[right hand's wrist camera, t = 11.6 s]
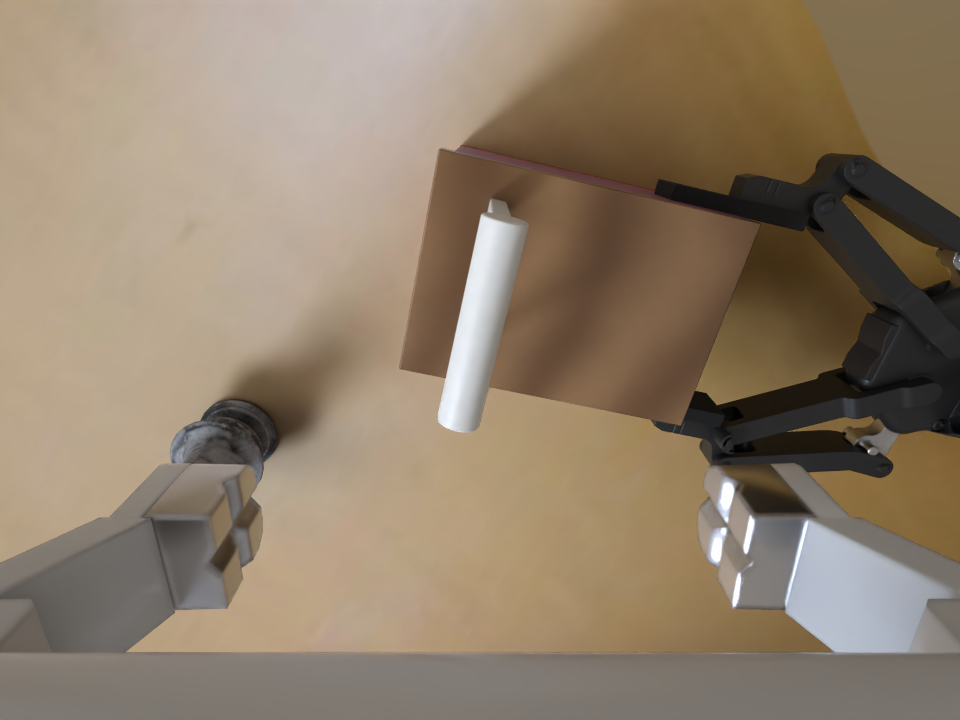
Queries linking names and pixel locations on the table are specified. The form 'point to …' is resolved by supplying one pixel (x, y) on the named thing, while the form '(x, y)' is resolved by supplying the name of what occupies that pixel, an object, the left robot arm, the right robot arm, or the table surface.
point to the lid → (566, 291)
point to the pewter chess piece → (227, 437)
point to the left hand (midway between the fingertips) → (629, 294)
